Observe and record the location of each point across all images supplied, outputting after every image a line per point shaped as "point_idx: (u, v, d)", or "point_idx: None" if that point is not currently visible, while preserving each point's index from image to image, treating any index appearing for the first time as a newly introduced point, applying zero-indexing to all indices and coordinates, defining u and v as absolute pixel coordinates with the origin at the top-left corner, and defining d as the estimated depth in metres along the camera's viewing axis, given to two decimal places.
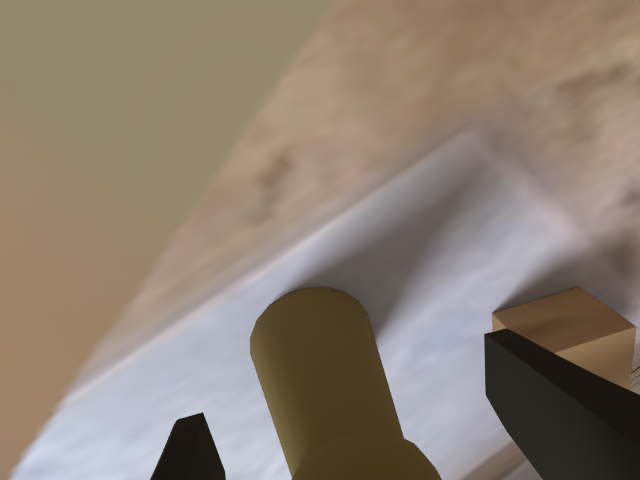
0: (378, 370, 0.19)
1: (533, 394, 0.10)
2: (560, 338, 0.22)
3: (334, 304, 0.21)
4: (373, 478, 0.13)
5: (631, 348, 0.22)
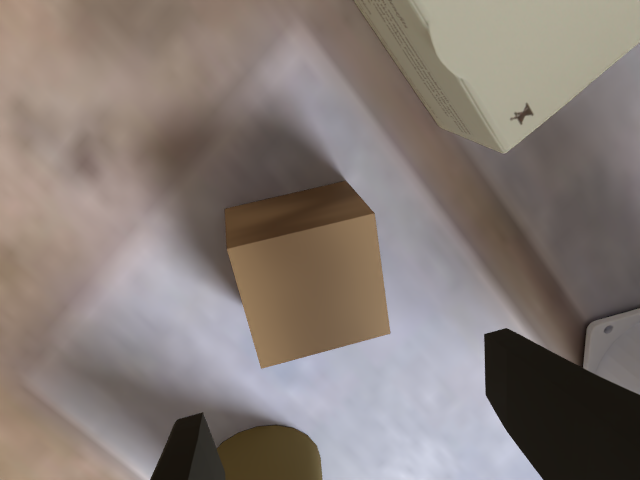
0: None
1: (533, 394, 0.10)
2: None
3: None
4: None
5: (265, 243, 0.15)
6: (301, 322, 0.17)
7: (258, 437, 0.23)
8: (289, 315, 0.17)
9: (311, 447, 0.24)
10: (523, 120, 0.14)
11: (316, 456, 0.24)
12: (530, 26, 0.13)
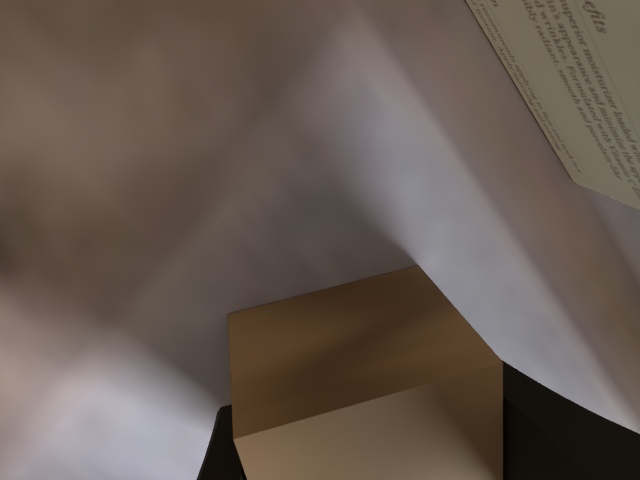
0: None
1: None
2: None
3: None
4: None
5: (305, 424, 0.08)
6: None
7: None
8: None
9: None
10: None
11: None
12: None
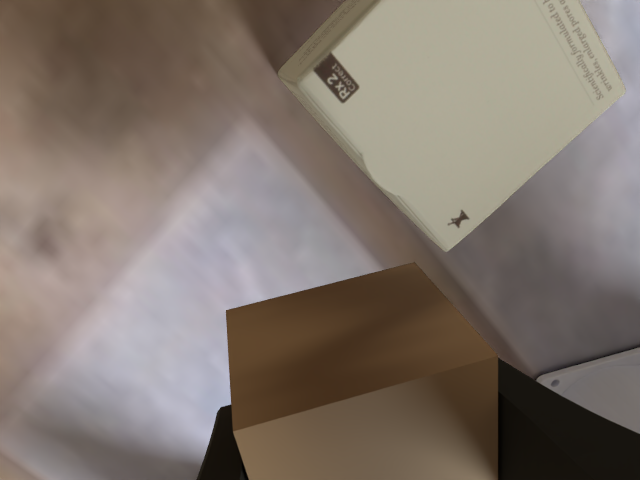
0: None
1: None
2: None
3: None
4: None
5: (303, 417, 0.08)
6: None
7: None
8: None
9: None
10: (460, 224, 0.16)
11: None
12: (457, 147, 0.14)
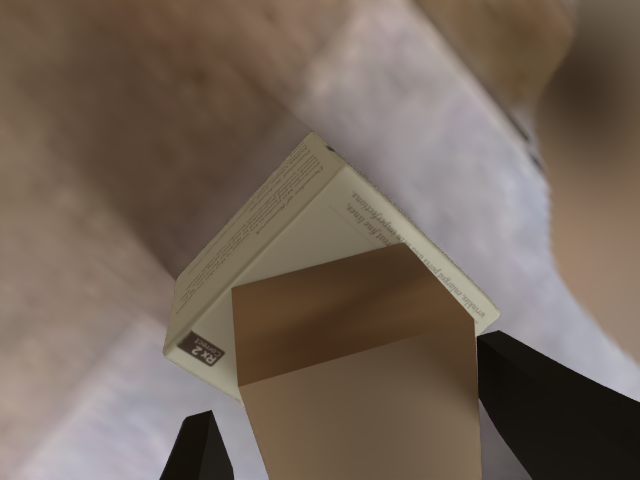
0: None
1: (524, 396, 0.10)
2: None
3: None
4: None
5: (300, 374, 0.09)
6: (352, 477, 0.11)
7: None
8: (335, 470, 0.11)
9: None
10: None
11: None
12: None
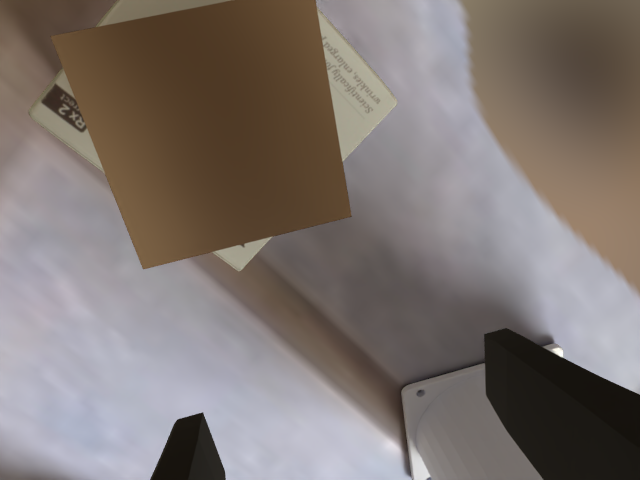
0: None
1: (533, 394, 0.10)
2: None
3: None
4: None
5: (121, 30, 0.09)
6: (202, 189, 0.10)
7: None
8: (180, 175, 0.10)
9: None
10: None
11: None
12: None
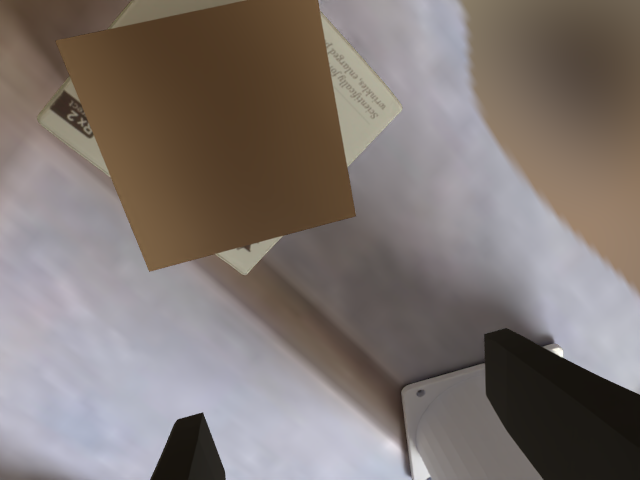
0: None
1: (533, 394, 0.10)
2: None
3: None
4: None
5: (125, 33, 0.09)
6: (207, 191, 0.10)
7: None
8: (185, 177, 0.10)
9: None
10: (250, 248, 0.16)
11: None
12: None
